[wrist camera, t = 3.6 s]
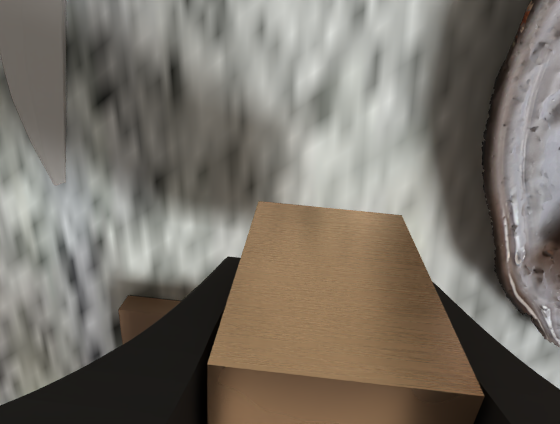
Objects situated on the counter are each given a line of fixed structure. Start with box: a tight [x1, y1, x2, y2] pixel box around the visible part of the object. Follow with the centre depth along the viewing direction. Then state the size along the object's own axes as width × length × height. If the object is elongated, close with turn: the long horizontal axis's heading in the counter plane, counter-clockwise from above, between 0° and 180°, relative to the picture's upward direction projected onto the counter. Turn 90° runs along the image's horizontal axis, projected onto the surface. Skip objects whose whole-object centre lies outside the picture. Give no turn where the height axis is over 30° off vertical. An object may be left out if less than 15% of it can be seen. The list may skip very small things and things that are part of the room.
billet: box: [207, 201, 485, 424], centre depth 9 cm, size 4×4×6 cm
